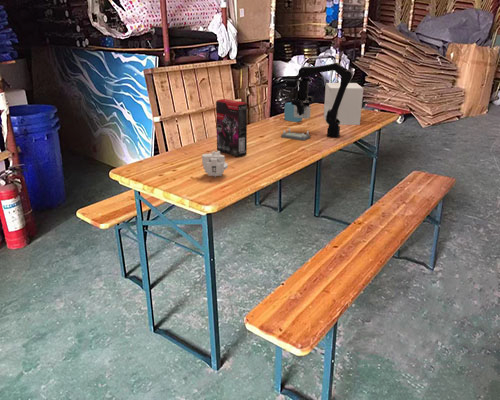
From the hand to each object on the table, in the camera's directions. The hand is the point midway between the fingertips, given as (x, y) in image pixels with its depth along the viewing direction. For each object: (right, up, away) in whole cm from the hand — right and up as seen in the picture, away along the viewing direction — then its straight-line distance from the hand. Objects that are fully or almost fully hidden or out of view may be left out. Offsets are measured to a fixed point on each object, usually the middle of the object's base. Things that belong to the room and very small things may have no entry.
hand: (301, 114), depth 268 cm
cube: (+32, +3, +39) cm, 51 cm away
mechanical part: (-47, -41, -69) cm, 93 cm away
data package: (-2, +3, +38) cm, 38 cm away
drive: (0, -1, +1) cm, 2 cm away
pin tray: (-4, -14, -4) cm, 16 cm away
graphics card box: (-41, -27, -35) cm, 61 cm away
